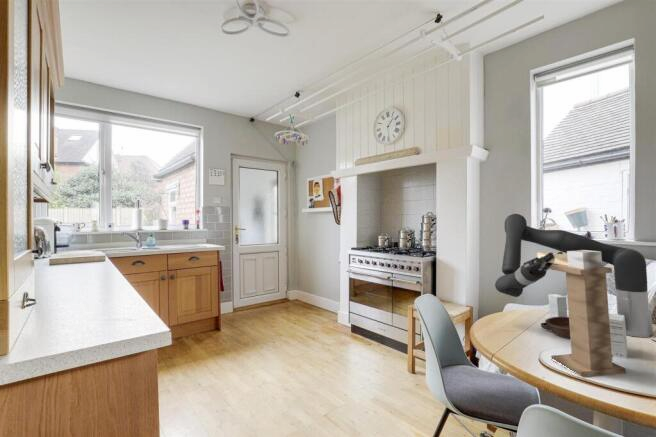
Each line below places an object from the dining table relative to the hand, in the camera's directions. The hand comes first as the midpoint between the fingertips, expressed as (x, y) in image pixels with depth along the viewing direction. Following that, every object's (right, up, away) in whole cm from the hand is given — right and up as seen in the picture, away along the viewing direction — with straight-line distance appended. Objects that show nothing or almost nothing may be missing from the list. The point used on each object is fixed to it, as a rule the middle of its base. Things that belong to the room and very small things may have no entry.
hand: (557, 254), depth 112 cm
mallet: (0, -3, -3) cm, 4 cm away
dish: (+19, -35, +17) cm, 43 cm away
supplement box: (+19, -34, -1) cm, 39 cm away
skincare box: (+24, -34, +33) cm, 53 cm away
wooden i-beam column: (+3, -35, -10) cm, 36 cm away
